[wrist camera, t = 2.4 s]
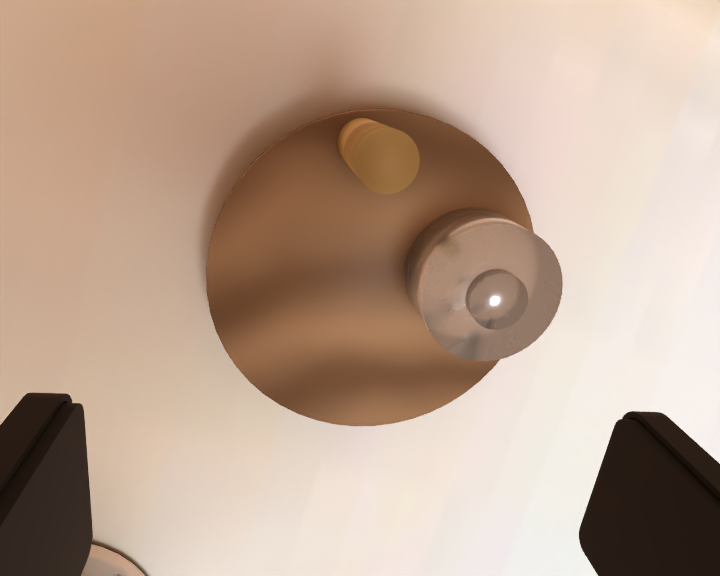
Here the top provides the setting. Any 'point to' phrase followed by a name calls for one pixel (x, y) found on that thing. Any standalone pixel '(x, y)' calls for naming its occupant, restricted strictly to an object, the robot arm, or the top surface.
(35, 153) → the top surface
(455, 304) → the cover
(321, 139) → the turntable
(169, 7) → the top surface
